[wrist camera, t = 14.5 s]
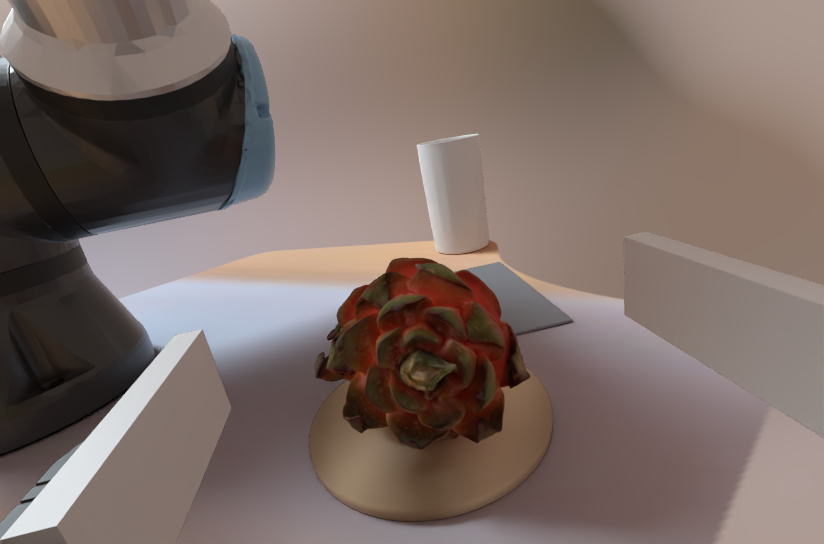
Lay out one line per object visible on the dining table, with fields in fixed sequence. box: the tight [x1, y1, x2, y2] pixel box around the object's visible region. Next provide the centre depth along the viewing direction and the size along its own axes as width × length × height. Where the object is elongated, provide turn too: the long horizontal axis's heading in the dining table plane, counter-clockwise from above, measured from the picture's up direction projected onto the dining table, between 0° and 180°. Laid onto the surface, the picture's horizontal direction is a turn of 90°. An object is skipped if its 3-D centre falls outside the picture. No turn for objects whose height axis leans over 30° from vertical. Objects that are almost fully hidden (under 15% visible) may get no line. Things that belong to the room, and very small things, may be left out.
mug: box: [417, 134, 489, 254], centre depth 49 cm, size 10×7×12 cm, turn 26°
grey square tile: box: [454, 262, 573, 335], centre depth 34 cm, size 14×14×1 cm
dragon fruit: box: [315, 258, 530, 450], centre depth 20 cm, size 8×8×12 cm
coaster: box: [309, 367, 553, 521], centre depth 22 cm, size 12×12×1 cm
